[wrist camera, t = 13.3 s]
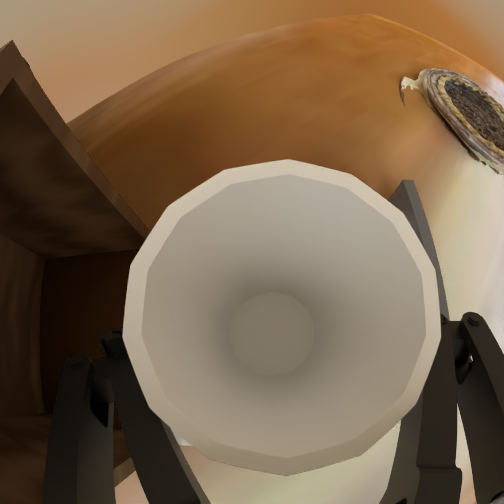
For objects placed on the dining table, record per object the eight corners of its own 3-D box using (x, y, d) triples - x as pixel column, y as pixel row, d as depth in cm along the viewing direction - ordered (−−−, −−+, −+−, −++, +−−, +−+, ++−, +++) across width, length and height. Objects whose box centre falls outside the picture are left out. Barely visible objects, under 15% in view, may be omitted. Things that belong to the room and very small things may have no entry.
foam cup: (319, 260, 21) (384, 149, 9) (347, 378, 18) (461, 405, 6) (196, 284, 21) (117, 195, 9) (218, 407, 18) (156, 485, 5)
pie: (512, 124, 33) (523, 110, 28) (533, 234, 25) (553, 221, 21) (401, 56, 37) (408, 37, 33) (390, 143, 30) (404, 117, 25)
